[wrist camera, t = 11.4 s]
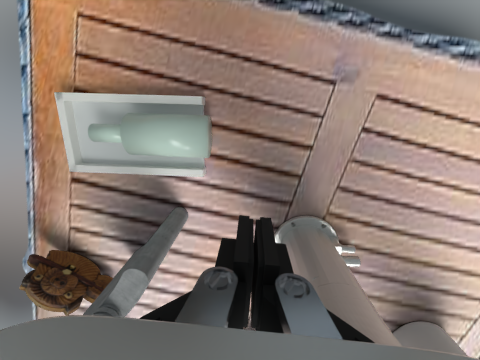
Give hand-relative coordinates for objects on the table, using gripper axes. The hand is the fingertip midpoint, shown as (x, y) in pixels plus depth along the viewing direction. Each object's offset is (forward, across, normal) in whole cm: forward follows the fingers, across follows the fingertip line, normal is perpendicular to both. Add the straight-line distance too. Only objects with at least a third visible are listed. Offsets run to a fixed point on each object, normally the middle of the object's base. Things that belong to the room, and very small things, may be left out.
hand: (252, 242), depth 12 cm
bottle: (+24, +7, -3) cm, 25 cm away
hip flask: (+28, +16, +18) cm, 37 cm away
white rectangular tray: (+28, +19, -2) cm, 34 cm away
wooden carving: (+28, +32, +25) cm, 50 cm away
